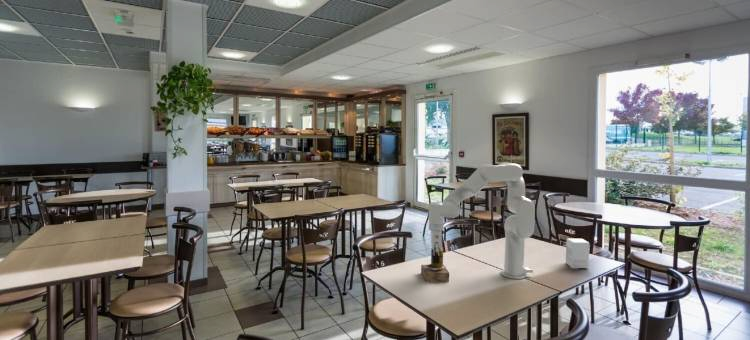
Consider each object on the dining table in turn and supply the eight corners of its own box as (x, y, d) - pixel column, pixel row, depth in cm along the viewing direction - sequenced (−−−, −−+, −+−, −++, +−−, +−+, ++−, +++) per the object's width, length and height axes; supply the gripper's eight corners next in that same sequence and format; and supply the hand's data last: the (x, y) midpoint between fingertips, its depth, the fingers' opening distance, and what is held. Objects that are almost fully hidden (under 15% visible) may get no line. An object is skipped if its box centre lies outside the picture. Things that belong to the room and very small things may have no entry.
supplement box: (581, 263, 216) (582, 238, 215) (588, 269, 208) (590, 242, 206) (564, 263, 217) (566, 237, 216) (571, 268, 208) (572, 242, 207)
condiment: (446, 267, 192) (447, 244, 191) (434, 270, 188) (434, 246, 186) (436, 263, 198) (437, 240, 197) (424, 266, 194) (424, 243, 192)
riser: (443, 273, 200) (443, 264, 200) (448, 282, 188) (449, 272, 188) (421, 273, 200) (421, 264, 199) (425, 282, 188) (425, 272, 187)
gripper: (445, 231, 183) (444, 266, 184) (441, 222, 200) (440, 255, 201) (429, 230, 183) (429, 266, 185) (427, 222, 200) (426, 255, 202)
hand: (435, 260), depth 193 cm, fingers closed on condiment, 6 cm apart
